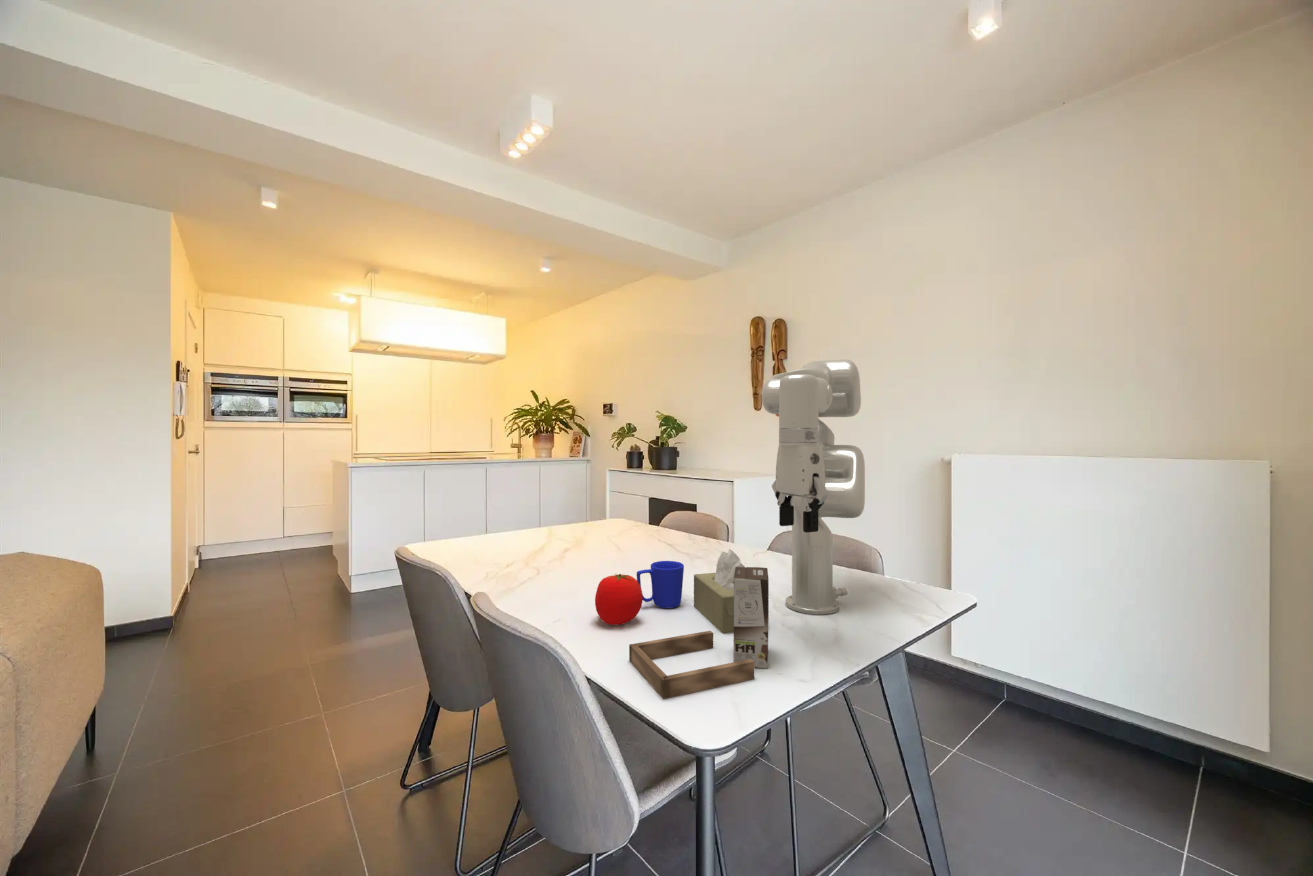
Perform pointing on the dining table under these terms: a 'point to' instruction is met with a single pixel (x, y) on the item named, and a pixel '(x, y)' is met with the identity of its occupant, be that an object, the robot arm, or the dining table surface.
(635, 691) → the dining table surface
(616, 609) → the tomato
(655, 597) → the mug
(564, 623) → the dining table surface
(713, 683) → the u rest
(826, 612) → the robot arm
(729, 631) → the tissue box
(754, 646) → the coffee box
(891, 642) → the dining table surface
